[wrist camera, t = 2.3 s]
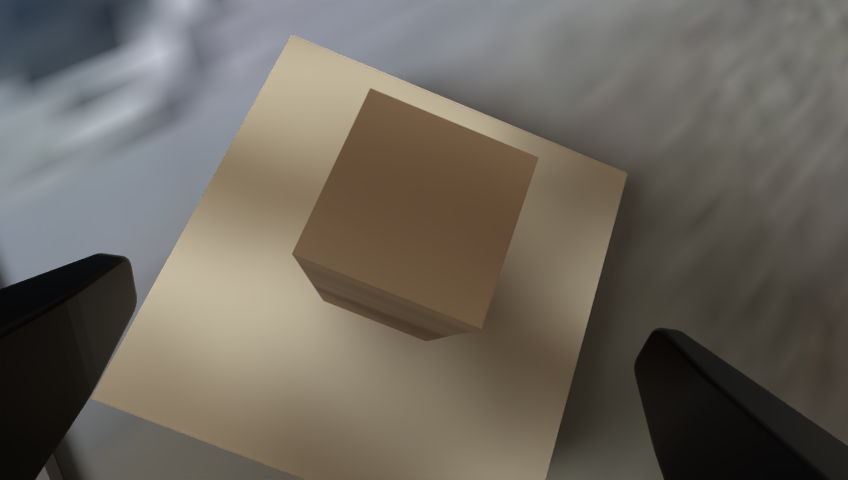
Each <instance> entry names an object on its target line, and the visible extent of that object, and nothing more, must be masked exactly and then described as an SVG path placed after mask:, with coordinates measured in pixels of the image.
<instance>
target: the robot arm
mask: <svg viewBox="0 0 848 480" xmlns="http://www.w3.org/2000/svg"><path fill="white" fill-rule="evenodd" d="M136 303H137V294H136V289H135V283H134V277H133V272H132V266H131V263H130V261H129V259H128V258H126V257H124V256H119V255H112V254H104V253H99V254H95V255H92V256H89V257H87V258H84V259H81V260H78V261H76V262H73V263H70V264H68V265H65V266H62V267H59V268H57V269H54V270H51V271H48V272H46V273H43V274H40V275H38V276H35V277H32V278H29V279H27V280H24V281H21V282H18V283H16V284H13V285H10V286H8V287H5V288H2V289H0V480H36V478H37V477H38V475H39V474H40V472H41V471H42V469H43V468H44V466H45V464H46V463H47V461H48V460H49V458H50V457H51V455H52V454H53V452H54V451H55V449H56V448H57V446H58V445H59V443H60V442H61V440H62V439H63V437H64V436H65V434H66V433H67V431H68V430H69V428H70V427H71V425H72V423H73V422H74V420H75V419H76V417H77V416H78V414H79V413H80V411H81V410H82V408H83V407H84V405H85V404H86V402H87V400H88V399H89V397H90V396H91V394H92V392H93V390H94V389H95V387H96V385H97V383H98V381H99V379H100V377H101V375H102V374H103V372H104V370H105V368H106V366H107V364H108V362H109V360H110V358H111V356H112V354H113V352H114V350H115V348H116V346H117V344H118V342H119V340H120V338H121V336H122V334H123V332H124V330H125V329H126V327H127V325H128V323H129V321H130V319H131V317H132V315H133V313H134V311H135V308H136ZM634 371H635V377H636V381H637V385H638V389H639V393H640V397H641V401H642V405H643V409H644V413H645V417H646V421H647V425H648V429H649V433H650V437H651V440H652V444H653V448H654V451H655V454H656V457H657V460H658V463H659V466H660V469H661V472H662V475H663V478H664V480H848V446H847V445H846V444H844V443H843V442H841V441H840V440H838V439H837V438H835V437H834V436H832V435H831V434H830V433H828V432H827V431H825V430H824V429H822V428H821V427H819V426H818V425H816V424H815V423H814V422H812V421H811V420H809V419H808V418H806V417H805V416H803V415H802V414H801V413H799V412H798V411H796V410H795V409H793V408H792V407H790V406H789V405H787V404H786V403H785V402H783V401H782V400H780V399H779V398H777V397H776V396H774V395H773V394H771V393H770V392H769V391H767V390H766V389H764V388H763V387H761V386H760V385H758V384H757V383H756V382H754V381H753V380H751V379H750V378H748V377H747V376H745V375H744V374H742V373H741V372H740V371H738V370H737V369H735V368H734V367H732V366H731V365H729V364H728V363H726V362H725V361H724V360H722V359H721V358H719V357H718V356H716V355H715V354H713V353H712V352H711V351H709V350H708V349H706V348H705V347H703V346H702V345H700V344H699V343H697V342H696V341H695V340H693V339H692V338H690V337H689V336H687V335H686V334H684V333H683V332H681V331H679V330H674V329H666V328H656V329H654V330H653V331H652V332H651V334H650V335H649V337H648V339H647V341H646V342H645V344H644V346H643V348H642V349H641V351H640V353H639V355H638V356H637V358H636V361H635V366H634Z"/></svg>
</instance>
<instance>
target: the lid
mask: <svg viewBox="0 0 848 480" xmlns="http://www.w3.org/2000/svg"><path fill="white" fill-rule="evenodd" d="M627 174H628V173H626V172H624V171H621V170H619V169H616V168H614V167H612V166H609V165H607V164H604V163H602V162H599V161H597V160H595V159H592V158H590V157H587V156H585V155H583V154H580V153H578V152H575V151H573V150H570V149H568V148H566V147H563V146H561V145H558V144H556V143H553V142H551V141H549V140H546V139H544V138H541V137H539V136H537V135H534V134H532V133H529V132H527V131H524V130H522V129H520V128H517V127H515V126H512V125H510V124H507V123H505V122H503V121H500V120H498V119H495V118H493V117H491V116H488V115H486V114H483V113H481V112H478V111H476V110H474V109H471V108H469V107H466V106H464V105H462V104H459V103H457V102H454V101H452V100H449V99H447V98H445V97H442V96H440V95H437V94H435V93H432V92H430V91H428V90H425V89H423V88H420V87H418V86H416V85H413V84H411V83H408V82H406V81H403V80H401V79H399V78H396V77H394V76H391V75H389V74H386V73H384V72H382V71H379V70H377V69H374V68H372V67H370V66H367V65H365V64H362V63H360V62H357V61H355V60H353V59H350V58H348V57H345V56H343V55H340V54H338V53H336V52H333V51H331V50H328V49H326V48H324V47H321V46H319V45H316V44H314V43H311V42H309V41H307V40H304V39H302V38H299V37H297V36H295V35H291V37H290V38H289V40H288V42H287V44H286V46H285V48H284V49H283V51H282V53H281V55H280V57H279V58H278V60H277V62H276V64H275V66H274V67H273V69H272V71H271V73H270V75H269V77H268V78H267V80H266V82H265V84H264V86H263V87H262V89H261V91H260V93H259V95H258V97H257V98H256V100H255V102H254V104H253V106H252V107H251V109H250V111H249V113H248V115H247V116H246V118H245V120H244V122H243V124H242V126H241V127H240V129H239V131H238V133H237V135H236V136H235V138H234V140H233V142H232V144H231V145H230V147H229V149H228V151H227V153H226V155H225V156H224V158H223V160H222V162H221V164H220V165H219V167H218V169H217V171H216V173H215V174H214V176H213V178H212V180H211V182H210V184H209V185H208V187H207V189H206V191H205V193H204V194H203V196H202V198H201V200H200V202H199V204H198V205H197V207H196V209H195V211H194V213H193V214H192V216H191V218H190V220H189V222H188V223H187V225H186V227H185V229H184V231H183V233H182V234H181V236H180V238H179V240H178V242H177V243H176V245H175V247H174V249H173V251H172V252H171V254H170V256H169V258H168V260H167V262H166V263H165V265H164V267H163V269H162V271H161V272H160V274H159V276H158V278H157V280H156V281H155V283H154V285H153V287H152V289H151V291H150V292H149V294H148V296H147V298H146V300H145V301H144V303H143V305H142V307H141V309H140V311H139V312H138V314H137V316H136V318H135V320H134V321H133V323H132V325H131V327H130V329H129V330H128V332H127V334H126V336H125V338H124V340H123V341H122V343H121V345H120V347H119V349H118V350H117V352H116V354H115V356H114V358H113V359H112V361H111V363H110V365H109V367H108V369H107V370H106V372H105V374H104V376H103V378H102V379H101V381H100V383H99V385H98V387H97V389H96V390H95V392H94V394H93V396H92V398H91V399H94V400H96V401H99V402H101V403H104V404H107V405H109V406H112V407H115V408H117V409H120V410H123V411H125V412H128V413H130V414H133V415H136V416H138V417H141V418H144V419H146V420H149V421H152V422H154V423H157V424H159V425H162V426H165V427H167V428H170V429H173V430H175V431H178V432H181V433H183V434H186V435H188V436H191V437H194V438H196V439H199V440H202V441H204V442H207V443H210V444H212V445H215V446H217V447H220V448H223V449H225V450H228V451H231V452H233V453H236V454H239V455H241V456H244V457H246V458H249V459H252V460H254V461H257V462H260V463H262V464H265V465H268V466H270V467H273V468H276V469H278V470H281V471H283V472H286V473H289V474H291V475H294V476H297V477H299V478H302V479H305V480H545V479H546V475H547V472H548V468H549V464H550V461H551V457H552V453H553V449H554V446H555V442H556V438H557V435H558V431H559V427H560V423H561V420H562V416H563V412H564V408H565V405H566V401H567V397H568V394H569V390H570V386H571V382H572V379H573V375H574V371H575V368H576V364H577V360H578V356H579V353H580V349H581V345H582V341H583V338H584V334H585V330H586V327H587V323H588V319H589V315H590V312H591V308H592V304H593V301H594V297H595V293H596V289H597V286H598V282H599V278H600V274H601V271H602V267H603V263H604V260H605V256H606V252H607V248H608V245H609V241H610V237H611V233H612V230H613V226H614V222H615V219H616V215H617V211H618V207H619V204H620V200H621V196H622V193H623V189H624V185H625V181H626V178H627Z"/></svg>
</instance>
